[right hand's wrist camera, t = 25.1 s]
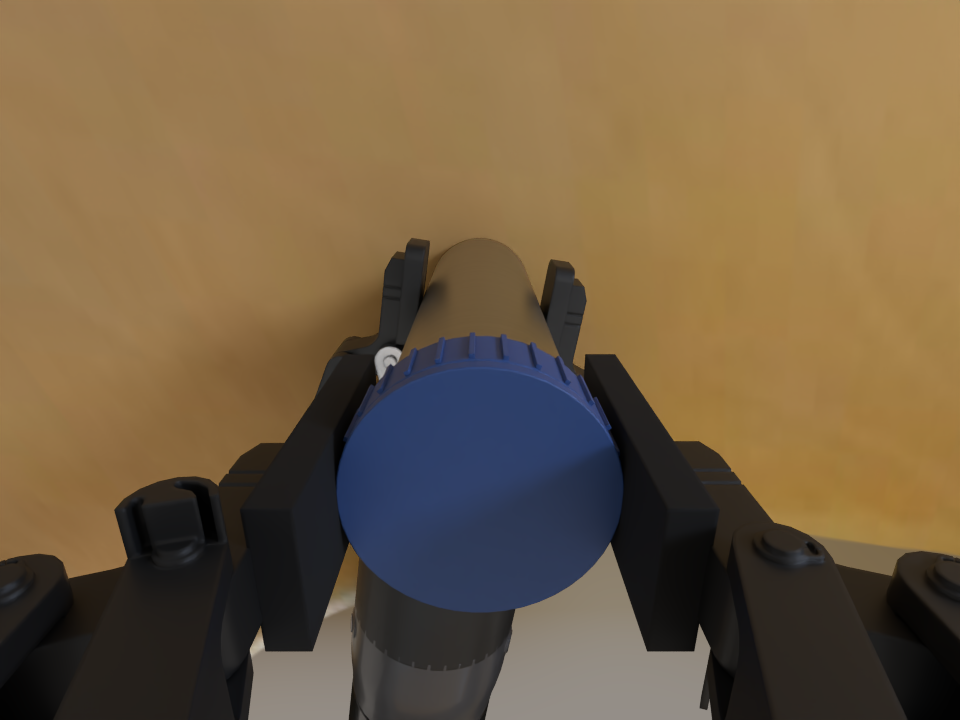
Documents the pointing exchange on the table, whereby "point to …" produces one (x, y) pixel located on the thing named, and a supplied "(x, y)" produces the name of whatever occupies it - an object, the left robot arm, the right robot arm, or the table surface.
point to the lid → (479, 476)
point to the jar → (479, 299)
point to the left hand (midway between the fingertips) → (491, 255)
